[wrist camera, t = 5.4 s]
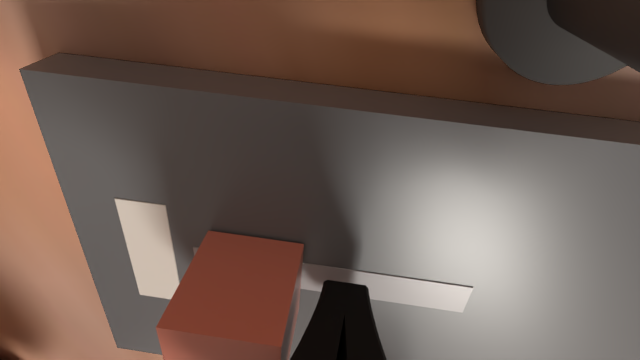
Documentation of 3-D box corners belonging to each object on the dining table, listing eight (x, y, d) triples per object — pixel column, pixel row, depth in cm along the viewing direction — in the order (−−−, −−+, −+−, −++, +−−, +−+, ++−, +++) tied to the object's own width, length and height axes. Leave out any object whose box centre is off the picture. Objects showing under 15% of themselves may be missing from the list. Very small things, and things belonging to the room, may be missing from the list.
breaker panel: (796, 140, 10) (857, 172, 9) (584, 387, 17) (602, 425, 16) (59, 53, 11) (17, 69, 10) (135, 317, 18) (116, 348, 17)
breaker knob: (303, 244, 12) (281, 347, 9) (299, 307, 14) (278, 411, 11) (208, 230, 12) (155, 327, 9) (214, 294, 14) (172, 394, 11)
